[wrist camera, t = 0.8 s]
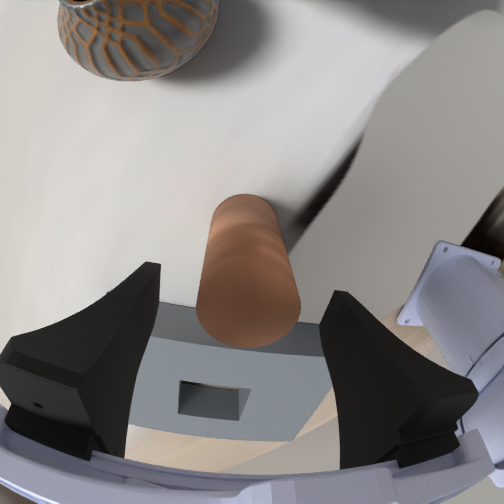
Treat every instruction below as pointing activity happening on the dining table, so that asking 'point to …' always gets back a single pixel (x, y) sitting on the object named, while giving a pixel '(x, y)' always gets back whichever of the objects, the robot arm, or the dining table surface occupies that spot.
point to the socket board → (227, 381)
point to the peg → (246, 276)
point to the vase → (135, 35)
